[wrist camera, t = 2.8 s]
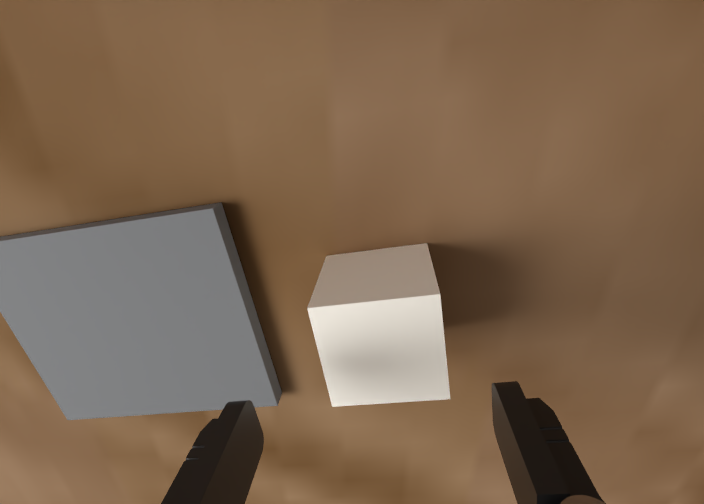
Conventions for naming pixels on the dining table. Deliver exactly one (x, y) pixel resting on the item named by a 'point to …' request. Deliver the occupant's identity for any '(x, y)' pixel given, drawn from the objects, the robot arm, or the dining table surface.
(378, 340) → the white cube
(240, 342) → the rubber mat
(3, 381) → the dining table surface
